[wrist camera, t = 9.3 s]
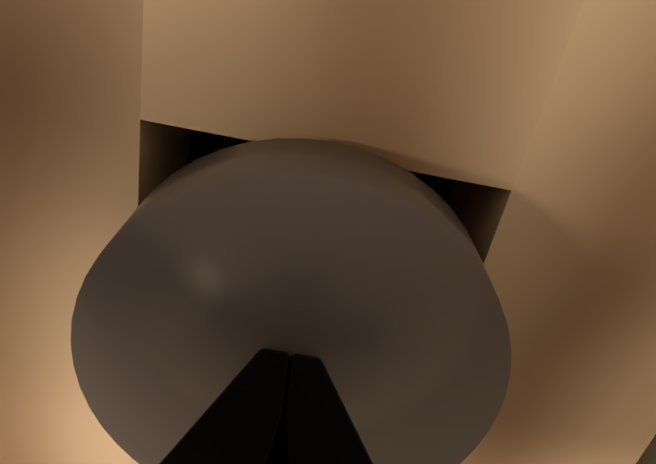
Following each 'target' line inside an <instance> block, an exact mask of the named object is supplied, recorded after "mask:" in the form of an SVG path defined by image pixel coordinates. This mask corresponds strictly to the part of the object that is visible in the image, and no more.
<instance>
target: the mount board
mask: <svg viewBox="0 0 656 464" xmlns="http://www.w3.org/2000/svg"><path fill="white" fill-rule="evenodd" d="M190 129H192V130H197V131H203V132H208V133H213V134H218V135H223V136H229V137H234V138H239V139H244V140H250V141H260V140H268V139H276V138H301V139H313V140H321V141H328V142H335V143H339V144H343V145H347V146H350V147H354V148H358V149H362V150H364V151H367V152H369V153H372V154H374V155H377V156H379V157H382V158H384V159H387V160H389V161H391V162H392V163H394V164H396V165H398V166H399V167H401V168H403V169H405V170H407V171H412V172H417V173H423V174H428V175H433V176H438V177H443V178H449V179H453V182H452V185H451V188H450V191H449V194H448V197H447V200H446V203H447V204H448V205H449V206H450V207H451V208H452V210H453V211H454V212H455V214H456V215H457V217H458V218H459V219H460V221H461V222H462V223H463V225H464V226H465V228H466V230H467V231H468V233H469V235H470V237H471V239H472V241H473V243H474V245H475V247H476V249H477V251H478V253H479V256H480V258H481V260H482V262H483V265H484V267H485V269H486V271H487V274H488V276H489V278H490V280H491V283H492V285H493V287H494V289H495V292H496V294H497V296H498V298H499V301H500V303H501V306H502V309H503V312H504V315H505V318H506V321H507V324H508V330H509V336H510V343H511V373H510V378H509V383H508V388H507V393H506V396H505V398H504V401H503V404H502V406H501V409H500V412H499V414H498V416H497V418H496V419H495V421H494V423H493V425H492V426H491V428H490V430H489V432H488V433H487V434H486V436H485V437H484V438H483V440H482V441H481V442H480V443H479V445H478V446H477V447H476V449H475V450H474V451H473V452H472V453H471V454H470V455H469V456H468V457H467V458H466V459H465V460H464V461H463V462H462V463H461V464H636V463H637V461H638V460H639V458H640V457H641V455H642V454H643V452H644V451H645V449H646V448H647V446H648V445H649V443H650V442H651V440H652V439H653V437H654V436H655V434H656V0H0V464H139V463H137V462H136V461H135V460H133V459H132V458H131V457H130V456H129V455H128V454H127V453H126V452H125V451H124V450H123V449H122V448H121V447H119V446H118V445H117V444H116V443H115V441H114V440H113V439H112V438H111V437H110V436H109V434H108V433H107V432H106V431H105V430H104V428H103V427H102V426H101V425H100V423H99V421H98V420H97V418H96V417H95V415H94V414H93V412H92V411H91V409H90V408H89V406H88V403H87V401H86V399H85V397H84V395H83V393H82V391H81V389H80V386H79V383H78V379H77V376H76V373H75V369H74V366H73V359H72V351H71V321H72V316H73V312H74V307H75V303H76V298H77V296H78V293H79V291H80V288H81V286H82V284H83V281H84V279H85V276H86V275H87V273H88V271H89V270H90V268H91V267H92V265H93V264H94V262H95V260H96V259H97V257H98V256H99V254H100V253H101V252H102V250H103V249H104V248H105V247H106V246H107V244H108V243H109V242H110V241H111V239H112V238H113V237H114V236H115V234H116V233H117V232H118V231H119V229H120V228H121V227H122V226H123V225H124V223H125V222H126V221H127V220H128V218H129V217H130V216H131V215H132V213H133V212H134V211H135V210H136V208H137V207H138V206H139V205H140V204H141V203H142V202H143V200H144V199H145V198H146V197H147V196H148V195H149V194H150V193H151V192H152V191H153V189H154V188H156V187H157V186H158V185H159V184H160V183H162V182H163V181H164V180H165V179H167V178H168V177H169V176H170V175H172V174H173V173H174V172H176V171H177V170H179V169H181V168H183V167H184V166H186V165H187V163H188V149H189V135H190Z"/></svg>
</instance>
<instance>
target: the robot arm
mask: <svg viewBox="0 0 656 464" xmlns="http://www.w3.org/2000/svg"><path fill="white" fill-rule="evenodd" d="M159 464H373V463H372V461H371V459H370V456H369V454H368V452H367V450H366V448H365V446H364V444H363V442H362V440H361V438H360V436H359V434H358V432H357V430H356V428H355V426H354V424H353V422H352V420H351V418H350V416H349V414H348V412H347V410H346V408H345V406H344V404H343V402H342V400H341V398H340V396H339V394H338V392H337V390H336V388H335V386H334V384H333V382H332V380H331V378H330V376H329V374H328V371H327V369H326V367H325V365H324V363H323V362H322V360H321V359H320V358H318V357H315V356H309V355H303V354H293V355H292V356H291V357H290V356H289V354H288V353H287V352H285V351H279V350H273V349H267V348H262V349H260V350H259V351H258V352H257V353H256V354H255V355H254V356H253V357H252V358H251V360H250V361H249V362H248V363H247V364H246V365H245V366H244V368H243V369H242V370H241V371H240V372H239V373H238V374H237V375H236V377H235V378H234V379H233V380H232V381H231V382H230V383H229V385H228V386H227V387H226V388H225V389H224V390H223V391H222V393H221V394H220V395H219V396H218V397H217V398H216V399H215V401H214V402H213V403H212V404H211V405H210V406H209V407H208V409H207V410H206V411H205V412H204V413H203V414H202V415H201V417H200V418H199V419H198V420H197V421H196V422H195V423H194V425H193V426H192V427H191V428H190V429H189V430H188V431H187V432H186V434H185V435H184V436H183V437H182V438H181V439H180V440H179V442H178V443H177V444H176V445H175V446H174V447H173V448H172V450H171V451H170V452H169V453H168V454H167V455H166V456H165V458H164V459H163V460H162V461H161V462H160V463H159Z"/></svg>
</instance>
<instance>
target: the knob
mask: <svg viewBox="0 0 656 464" xmlns="http://www.w3.org/2000/svg"><path fill="white" fill-rule="evenodd" d="M262 348H267V349H273V350H279V351H285V352H287V353H288V354H289V356H290V357H291V356H292V355H293V354H303V355H309V356H315V357H318V358H320V359H321V360H322V362H323V363H324V365H325V367H326V369H327V371H328V374H329V376H330V378H331V380H332V382H333V384H334V386H335V388H336V390H337V392H338V394H339V396H340V398H341V400H342V402H343V404H344V406H345V408H346V410H347V412H348V414H349V416H350V418H351V420H352V422H353V424H354V426H355V428H356V430H357V432H358V434H359V436H360V438H361V440H362V442H363V444H364V446H365V448H366V450H367V452H368V454H369V456H370V459H371V461H372V463H373V464H461V463H462V462H463V461H464V460H465V459H466V458H467V457H468V456H469V455H470V454H471V453H472V452H473V451H474V450H475V449H476V447H477V446H478V445H479V443H480V442H481V441H482V440H483V438H484V437H485V436H486V434H487V433H488V432H489V430H490V428H491V426H492V425H493V423H494V421H495V419H496V418H497V416H498V414H499V412H500V409H501V406H502V404H503V401H504V398H505V396H506V393H507V388H508V383H509V378H510V373H511V343H510V336H509V330H508V324H507V321H506V318H505V315H504V312H503V309H502V306H501V303H500V301H499V298H498V296H497V294H496V292H495V289H494V287H493V285H492V283H491V280H490V278H489V276H488V274H487V271H486V269H485V267H484V265H483V262H482V260H481V258H480V256H479V253H478V251H477V249H476V247H475V245H474V243H473V241H472V239H471V237H470V235H469V233H468V231H467V230H466V228H465V226H464V225H463V223H462V222H461V221H460V219H459V218H458V217H457V215H456V214H455V212H454V211H453V210H452V208H451V207H450V206H449V205H448V204H447V203H446V202H445V201H444V200H443V199H442V198H441V197H440V196H439V195H438V194H437V193H436V192H435V191H434V190H433V189H432V188H430V187H429V186H428V185H426V184H425V183H424V182H422V181H421V180H420V179H418V178H417V177H416V176H415V175H413V174H412V173H410V172H408V171H407V170H405V169H403V168H401V167H399V166H398V165H396V164H394V163H392V162H391V161H389V160H387V159H384V158H382V157H379V156H377V155H374V154H372V153H369V152H367V151H364V150H362V149H358V148H354V147H350V146H347V145H343V144H339V143H335V142H328V141H321V140H313V139H301V138H276V139H268V140H260V141H252V142H246V143H242V144H239V145H235V146H231V147H227V148H224V149H220V150H218V151H215V152H213V153H211V154H208V155H206V156H203V157H201V158H198V159H196V160H194V161H193V162H191V163H189V164H188V165H186V166H184V167H183V168H181V169H179V170H177V171H176V172H174V173H173V174H172V175H170V176H169V177H168V178H167V179H165V180H164V181H163V182H162V183H160V184H159V185H158V186H157V187H156V188H154V189H153V191H152V192H151V193H150V194H149V195H148V196H147V197H146V198H145V199H144V200H143V202H142V203H141V204H140V205H139V206H138V207H137V208H136V210H135V211H134V212H133V213H132V215H131V216H130V217H129V218H128V220H127V221H126V222H125V223H124V225H123V226H122V227H121V228H120V229H119V231H118V232H117V233H116V234H115V236H114V237H113V238H112V239H111V241H110V242H109V243H108V244H107V246H106V247H105V248H104V249H103V250H102V252H101V253H100V254H99V256H98V257H97V259H96V260H95V262H94V264H93V265H92V267H91V268H90V270H89V271H88V273H87V275H86V276H85V279H84V281H83V284H82V286H81V288H80V291H79V293H78V296H77V298H76V303H75V307H74V312H73V316H72V321H71V351H72V359H73V366H74V369H75V373H76V376H77V379H78V383H79V386H80V389H81V391H82V393H83V395H84V397H85V399H86V401H87V403H88V406H89V408H90V409H91V411H92V412H93V414H94V415H95V417H96V418H97V420H98V421H99V423H100V425H101V426H102V427H103V428H104V430H105V431H106V432H107V433H108V434H109V436H110V437H111V438H112V439H113V440H114V441H115V443H116V444H117V445H118V446H119V447H121V448H122V449H123V450H124V451H125V452H126V453H127V454H128V455H129V456H130V457H131V458H132V459H133V460H135V461H136V462H137V463H139V464H159V463H160V462H161V461H162V460H163V459H164V458H165V456H166V455H167V454H168V453H169V452H170V451H171V450H172V448H173V447H174V446H175V445H176V444H177V443H178V442H179V440H180V439H181V438H182V437H183V436H184V435H185V434H186V432H187V431H188V430H189V429H190V428H191V427H192V426H193V425H194V423H195V422H196V421H197V420H198V419H199V418H200V417H201V415H202V414H203V413H204V412H205V411H206V410H207V409H208V407H209V406H210V405H211V404H212V403H213V402H214V401H215V399H216V398H217V397H218V396H219V395H220V394H221V393H222V391H223V390H224V389H225V388H226V387H227V386H228V385H229V383H230V382H231V381H232V380H233V379H234V378H235V377H236V375H237V374H238V373H239V372H240V371H241V370H242V369H243V368H244V366H245V365H246V364H247V363H248V362H249V361H250V360H251V358H252V357H253V356H254V355H255V354H256V353H257V352H258V351H259V350H260V349H262Z"/></svg>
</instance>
